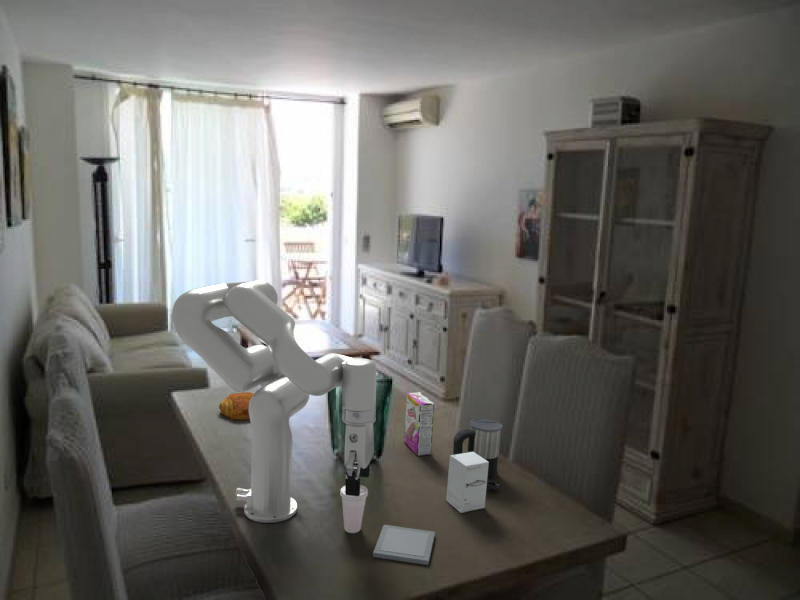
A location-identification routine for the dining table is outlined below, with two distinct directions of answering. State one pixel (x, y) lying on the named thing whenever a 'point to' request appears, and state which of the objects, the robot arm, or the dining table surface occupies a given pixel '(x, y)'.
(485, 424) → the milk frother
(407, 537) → the plate
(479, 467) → the supplement box
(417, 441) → the candy bar box
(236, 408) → the croissant
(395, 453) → the dining table surface
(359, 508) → the smoothie
